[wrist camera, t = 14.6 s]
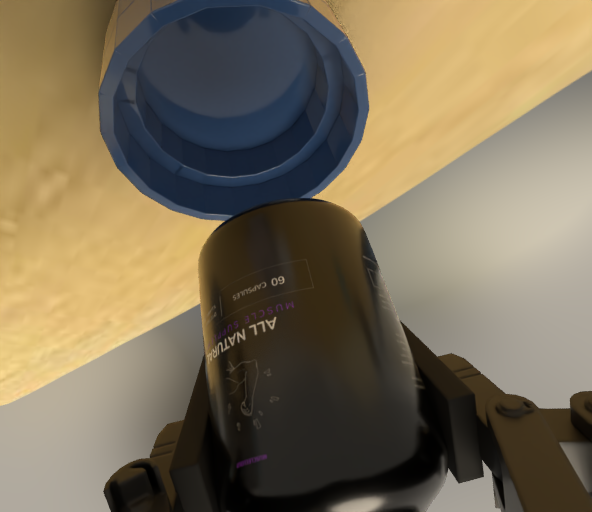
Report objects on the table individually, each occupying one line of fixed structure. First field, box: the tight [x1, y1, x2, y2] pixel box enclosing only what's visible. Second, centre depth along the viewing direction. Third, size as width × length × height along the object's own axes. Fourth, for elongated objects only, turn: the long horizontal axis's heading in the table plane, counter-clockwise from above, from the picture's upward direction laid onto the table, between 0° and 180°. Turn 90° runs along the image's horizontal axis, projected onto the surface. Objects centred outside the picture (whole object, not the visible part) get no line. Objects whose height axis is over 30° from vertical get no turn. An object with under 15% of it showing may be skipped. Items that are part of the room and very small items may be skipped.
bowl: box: [98, 0, 369, 221], centre depth 21 cm, size 13×13×6 cm
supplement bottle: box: [198, 198, 449, 512], centre depth 12 cm, size 7×7×12 cm
